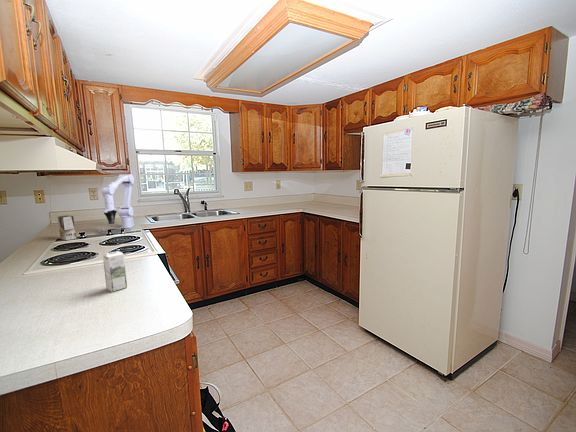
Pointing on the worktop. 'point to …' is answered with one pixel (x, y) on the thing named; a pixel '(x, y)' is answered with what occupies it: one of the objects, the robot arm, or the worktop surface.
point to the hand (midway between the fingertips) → (111, 220)
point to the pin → (112, 220)
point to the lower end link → (119, 231)
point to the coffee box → (66, 227)
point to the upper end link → (108, 229)
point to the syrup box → (115, 271)
